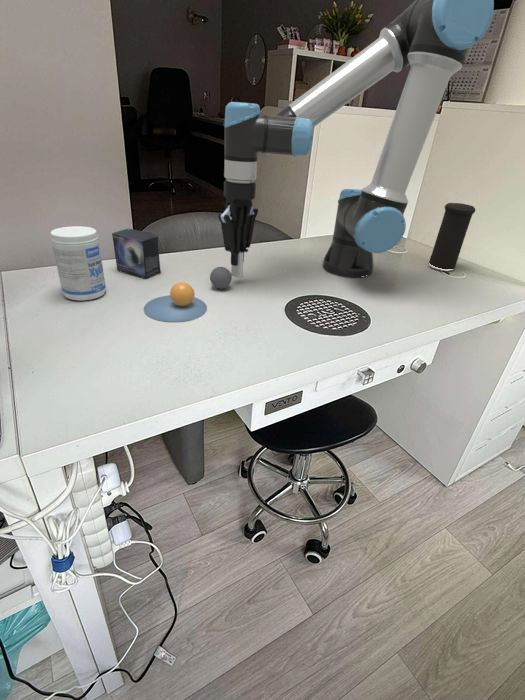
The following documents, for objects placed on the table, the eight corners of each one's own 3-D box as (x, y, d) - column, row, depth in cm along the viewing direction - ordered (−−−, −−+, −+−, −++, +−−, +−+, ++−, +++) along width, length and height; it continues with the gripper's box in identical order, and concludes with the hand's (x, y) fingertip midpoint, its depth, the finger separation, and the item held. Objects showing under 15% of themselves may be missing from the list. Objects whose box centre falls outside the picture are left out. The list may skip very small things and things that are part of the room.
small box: (115, 271, 106) (109, 232, 100) (132, 265, 111) (128, 227, 105) (145, 280, 102) (141, 240, 97) (161, 273, 107) (158, 234, 102)
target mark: (219, 307, 90) (219, 306, 90) (174, 328, 80) (174, 327, 80) (176, 291, 97) (176, 290, 97) (130, 308, 87) (130, 307, 87)
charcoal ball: (221, 269, 95) (219, 291, 96) (237, 268, 99) (235, 289, 100) (206, 265, 98) (204, 286, 100) (222, 264, 102) (220, 285, 104)
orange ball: (181, 290, 84) (183, 313, 87) (198, 282, 88) (200, 304, 91) (163, 283, 86) (166, 306, 90) (181, 276, 90) (183, 297, 93)
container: (457, 267, 129) (478, 204, 118) (452, 274, 122) (474, 208, 112) (430, 261, 132) (448, 199, 122) (424, 268, 126) (443, 203, 115)
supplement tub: (104, 301, 89) (94, 237, 82) (59, 303, 87) (44, 237, 79) (108, 285, 97) (99, 225, 90) (67, 286, 95) (54, 225, 87)
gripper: (244, 176, 98) (241, 266, 110) (209, 180, 88) (209, 278, 100) (269, 180, 94) (262, 273, 106) (234, 184, 85) (232, 286, 97)
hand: (236, 275), depth 103 cm, fingers closed
